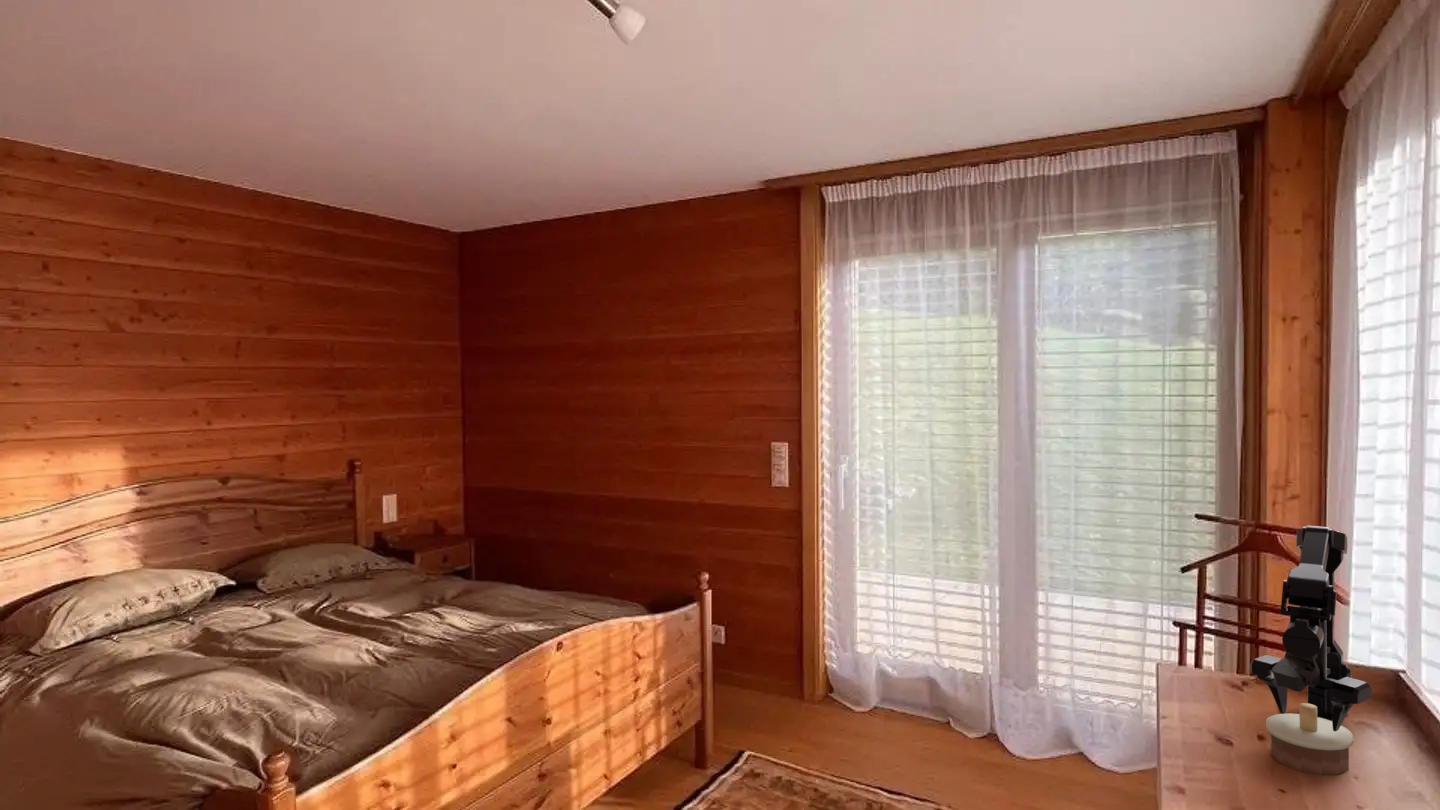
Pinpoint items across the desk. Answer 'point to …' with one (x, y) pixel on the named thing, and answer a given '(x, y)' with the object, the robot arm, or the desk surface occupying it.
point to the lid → (1308, 730)
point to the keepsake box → (1310, 758)
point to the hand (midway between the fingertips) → (1308, 721)
